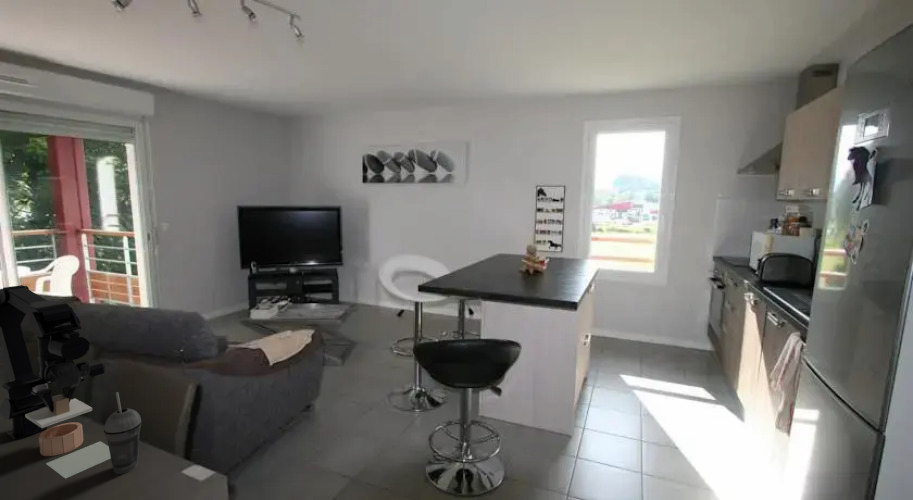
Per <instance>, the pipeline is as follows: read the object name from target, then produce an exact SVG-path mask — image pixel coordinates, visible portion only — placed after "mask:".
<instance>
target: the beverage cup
mask: <svg viewBox="0 0 913 500" xmlns="http://www.w3.org/2000/svg"><path fill="white" fill-rule="evenodd" d="M115 396H116V403H117V409H118V410H116V411H115V412H112V414H110V415H109V417H108V418H107V419H106V421H105V424H104V427H103V428H104V429H103V433H104V436H105V438H106V441H107V444H108V445H107V446H109V451H110V456H111V459H110V461H111V465H112V469H113V473H114V474H115V475H116V474H117V475H122V474H126V473H129V472H131V471H133V470H135V469H136V468H137V467H138V463H139V454H140V453H139V451H140V450H139V449H140V431H141V427H142V423H143V420H142V417H141V415H140V413H139V412H138V411H137V410H135V409H133V408H122V406H121V401H120V395H119V391H116V392H115Z"/></svg>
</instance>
